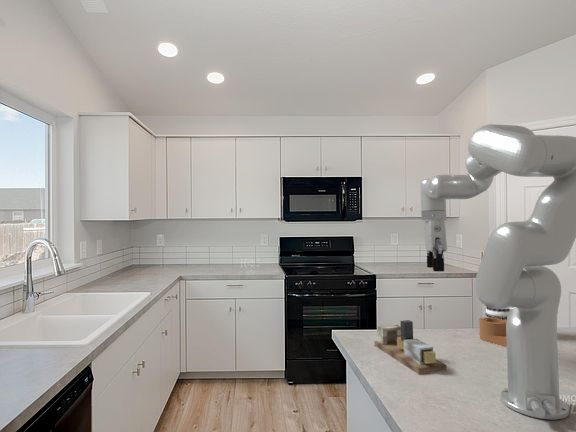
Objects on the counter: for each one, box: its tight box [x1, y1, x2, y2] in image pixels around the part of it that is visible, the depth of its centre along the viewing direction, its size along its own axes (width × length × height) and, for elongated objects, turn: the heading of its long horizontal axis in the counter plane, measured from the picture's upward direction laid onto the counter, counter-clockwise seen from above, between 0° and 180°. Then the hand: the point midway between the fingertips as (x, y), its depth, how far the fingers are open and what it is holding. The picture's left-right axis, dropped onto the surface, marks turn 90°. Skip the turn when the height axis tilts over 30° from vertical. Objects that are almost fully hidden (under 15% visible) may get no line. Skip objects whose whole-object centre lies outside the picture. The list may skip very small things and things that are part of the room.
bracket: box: [478, 316, 507, 348], centre depth 120 cm, size 18×8×7 cm, turn 32°
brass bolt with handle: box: [397, 319, 437, 364], centre depth 106 cm, size 15×3×9 cm, turn 15°
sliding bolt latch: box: [374, 323, 447, 375], centre depth 110 cm, size 24×9×7 cm, turn 15°
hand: (435, 269), depth 115 cm, fingers open, 9 cm apart
